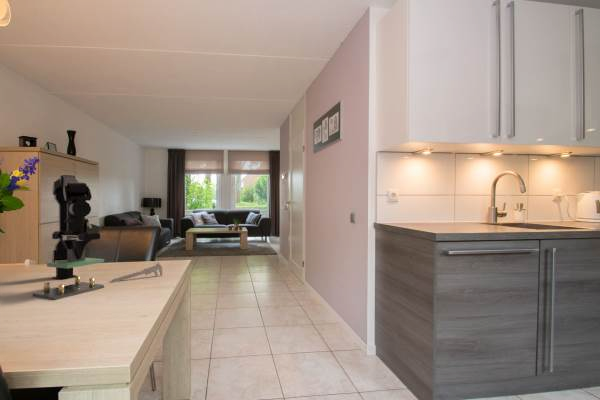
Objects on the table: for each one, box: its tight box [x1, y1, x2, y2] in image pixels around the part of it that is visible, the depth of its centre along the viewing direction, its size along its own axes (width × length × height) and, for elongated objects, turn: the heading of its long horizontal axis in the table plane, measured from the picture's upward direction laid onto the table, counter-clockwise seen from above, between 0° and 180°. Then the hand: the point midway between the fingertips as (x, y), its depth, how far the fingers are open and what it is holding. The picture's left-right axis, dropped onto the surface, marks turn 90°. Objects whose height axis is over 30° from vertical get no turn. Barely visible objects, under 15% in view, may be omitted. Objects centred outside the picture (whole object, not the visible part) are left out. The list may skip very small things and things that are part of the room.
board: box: [46, 247, 105, 269], centre depth 130 cm, size 11×14×6 cm
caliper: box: [109, 262, 163, 283], centre depth 148 cm, size 20×1×6 cm, turn 127°
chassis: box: [31, 275, 105, 301], centre depth 127 cm, size 12×18×4 cm, turn 156°
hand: (76, 258), depth 130 cm, fingers closed on board, 3 cm apart
